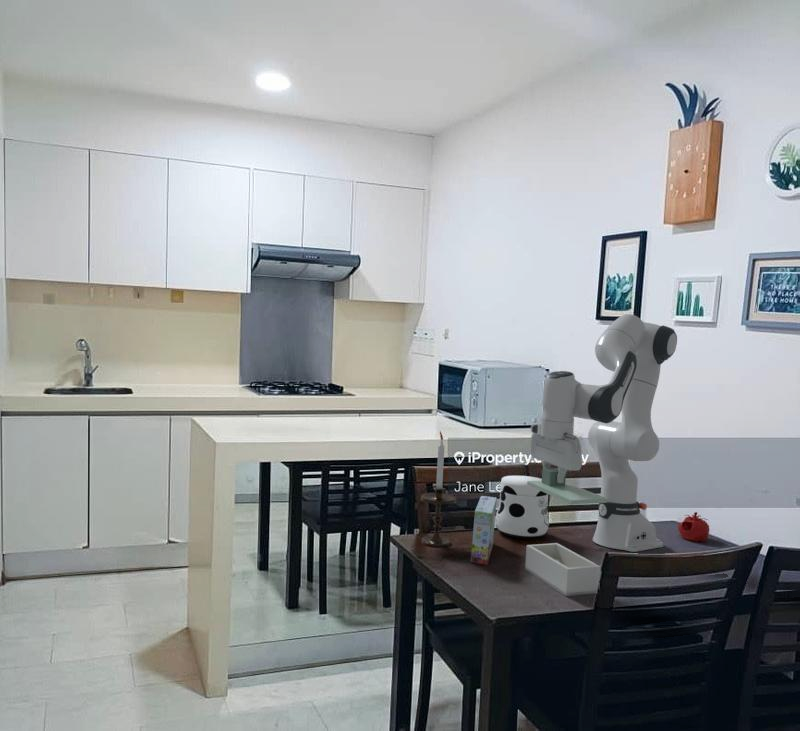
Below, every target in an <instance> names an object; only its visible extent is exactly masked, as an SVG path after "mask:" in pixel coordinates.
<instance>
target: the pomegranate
mask: <svg viewBox="0 0 800 731" xmlns="http://www.w3.org/2000/svg"><path fill="white" fill-rule="evenodd" d="M700 517H701V518H700ZM707 521H708V519H707V518H704V517H703V518H702V516H701V514H699V515H698V512H697V511H694V512H693V514H691V516H690V515H689V514H686V517H685V518H684V520H683V521H681V522H679V524H678V525H677V528H678V533H679V535H680V536H681V537H682V538H683V539H685V540H687V541H691V542H697V543H698V541H701V542H705V541H707V540H708V538H709V535H710V526H709V524H708V523H707Z"/></svg>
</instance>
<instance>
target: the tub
mask: <svg viewBox="0 0 800 731" xmlns="http://www.w3.org/2000/svg"><path fill="white" fill-rule="evenodd" d="M525 550H526V551H525V565H524V567H525V568H524V570H525V571H526V572H528V573H529V574H531V575H533V576H534V577H536V579H538V580H540V581H541V582H543V583H544V584H546V585H547V586H549V587H551V588H552V589H554V590H555V591H557V592H558V593H560V594H561V595H562V596H564V597H574V596H575V597H576V596H583V595H584V596H585V595H593V594H597V593H596V592H597V588H598V583H599V580H600V579H601V566H600V565H599V564H598V563H597V564H596V563H595V562H593V561H591V560H589V559H587V558H586V557H584V556H582V555H581V554H578V553H577V552H575V551H573V550H571V549H569V548H567V547H566V546H564V545H562V544H560V543H558V542H551V543H541V544H540V543H538V544H536V543H535V544H527V545H526V549H525ZM599 584H600V583H599Z"/></svg>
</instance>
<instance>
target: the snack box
mask: <svg viewBox="0 0 800 731" xmlns="http://www.w3.org/2000/svg"><path fill="white" fill-rule="evenodd" d="M497 499H498V498H497V497H496V496H495V497H493V496H487V495H481V496H480V498H479V500H478V503H477V505H476V508H475V510H474V519H473V531H472V542H471V554H470V563H473V564H480V565H485V566H487V565H489V560H490V556H491V553H492V550H493V547H494V534H495V524H496V513H497Z"/></svg>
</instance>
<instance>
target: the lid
mask: <svg viewBox="0 0 800 731" xmlns="http://www.w3.org/2000/svg"><path fill="white" fill-rule="evenodd" d="M541 469H542V470H541V479H542V481H527V485H529V486H531V487H533V488H536V489H538V490H540V491H542V492H544V493H547V494H548V496H549V495H550V496H551V497H553V498H555V499H558V500H560V501H562V502H564V503H567V504H570V505H584V504H589V505H590V504H599V503H607V498H604V497H602V496H601V495H599V494H596V493H594V492H592V491H589V490H587V489H584V488H582V487H579V486H577V485H574V484H572V483H569V482H566V478H567V477H566V476H567V473H566V474H565V476H564V482H563V483H557V482H556V481H555V476H557V475H558V472H559V471H558V467H557V468H556V467H555V468H552V467H551V468H549V469H543V468H541Z"/></svg>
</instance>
